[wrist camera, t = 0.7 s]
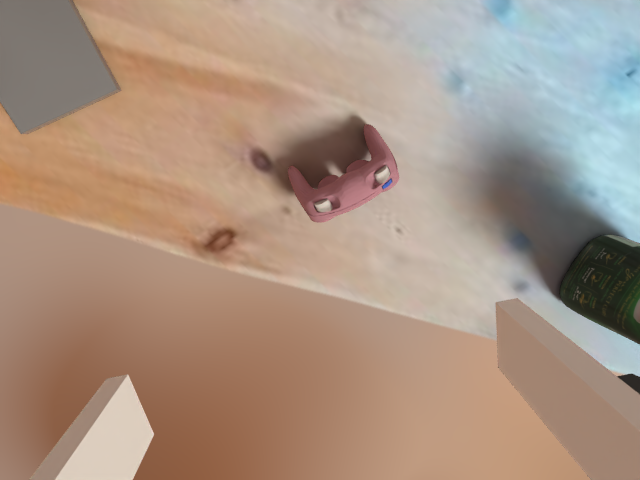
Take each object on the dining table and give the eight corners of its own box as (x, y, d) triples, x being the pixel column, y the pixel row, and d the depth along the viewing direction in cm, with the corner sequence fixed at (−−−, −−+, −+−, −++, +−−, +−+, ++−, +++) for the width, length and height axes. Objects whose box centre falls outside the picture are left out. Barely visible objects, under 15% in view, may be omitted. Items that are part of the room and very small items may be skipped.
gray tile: (-45, 21, 30) (-54, 18, 30) (56, -29, 30) (50, -33, 29) (27, 133, 33) (21, 133, 32) (121, 90, 32) (117, 89, 32)
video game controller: (301, 198, 38) (317, 240, 33) (281, 166, 35) (295, 206, 30) (383, 154, 37) (413, 189, 32) (370, 116, 34) (401, 149, 29)
